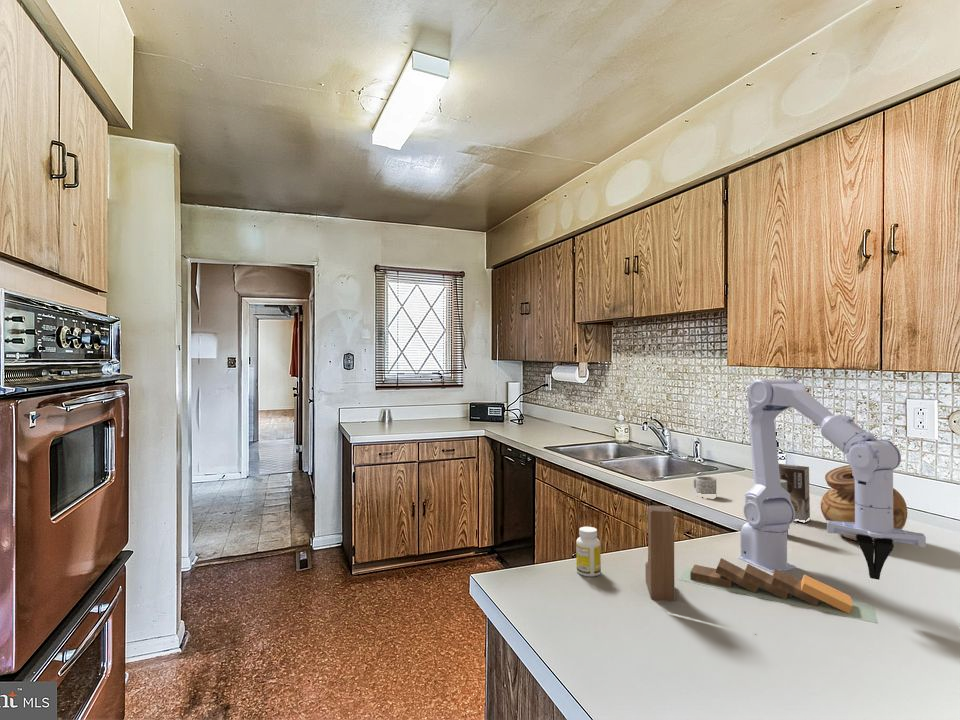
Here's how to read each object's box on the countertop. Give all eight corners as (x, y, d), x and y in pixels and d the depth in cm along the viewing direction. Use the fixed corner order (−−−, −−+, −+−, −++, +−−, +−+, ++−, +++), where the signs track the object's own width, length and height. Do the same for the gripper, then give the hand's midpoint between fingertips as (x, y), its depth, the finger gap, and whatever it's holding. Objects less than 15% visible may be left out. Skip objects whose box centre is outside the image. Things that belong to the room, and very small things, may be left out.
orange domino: (849, 613, 94) (801, 590, 98) (847, 603, 98) (801, 581, 103) (852, 606, 94) (804, 583, 98) (850, 596, 98) (804, 574, 102)
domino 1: (731, 588, 105) (690, 579, 109) (734, 579, 109) (694, 571, 114) (731, 580, 105) (690, 572, 109) (733, 572, 109) (694, 564, 114)
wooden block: (645, 582, 109) (645, 499, 109) (667, 584, 108) (666, 500, 108) (651, 601, 100) (650, 510, 100) (674, 603, 99) (674, 512, 99)
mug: (720, 498, 178) (720, 480, 178) (704, 499, 176) (704, 480, 177) (701, 491, 188) (701, 474, 188) (686, 492, 186) (686, 474, 186)
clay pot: (804, 528, 145) (804, 459, 145) (864, 526, 147) (863, 458, 147) (860, 553, 126) (860, 473, 126) (928, 550, 128) (927, 471, 128)
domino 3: (785, 600, 100) (742, 578, 104) (786, 590, 104) (745, 570, 108) (788, 592, 100) (745, 571, 104) (789, 583, 104) (747, 563, 108)
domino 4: (816, 606, 97) (771, 584, 101) (816, 596, 101) (772, 575, 105) (819, 599, 97) (773, 577, 101) (819, 589, 101) (775, 568, 105)
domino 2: (755, 593, 103) (715, 572, 107) (757, 584, 107) (718, 564, 111) (758, 586, 102) (717, 565, 106) (760, 577, 107) (721, 557, 111)
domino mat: (679, 581, 109) (679, 579, 109) (686, 569, 116) (686, 567, 116) (877, 625, 91) (877, 623, 91) (872, 607, 98) (872, 605, 98)
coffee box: (810, 519, 154) (810, 466, 154) (806, 524, 149) (805, 469, 149) (777, 513, 160) (776, 462, 160) (771, 517, 155) (771, 465, 156)
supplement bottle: (597, 567, 117) (597, 525, 117) (603, 577, 112) (603, 532, 112) (574, 567, 117) (573, 525, 117) (579, 577, 111) (579, 533, 112)
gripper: (827, 503, 95) (828, 575, 95) (929, 516, 87) (929, 594, 87) (826, 495, 101) (826, 563, 101) (921, 506, 93) (921, 580, 93)
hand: (874, 577), depth 94 cm, fingers closed
